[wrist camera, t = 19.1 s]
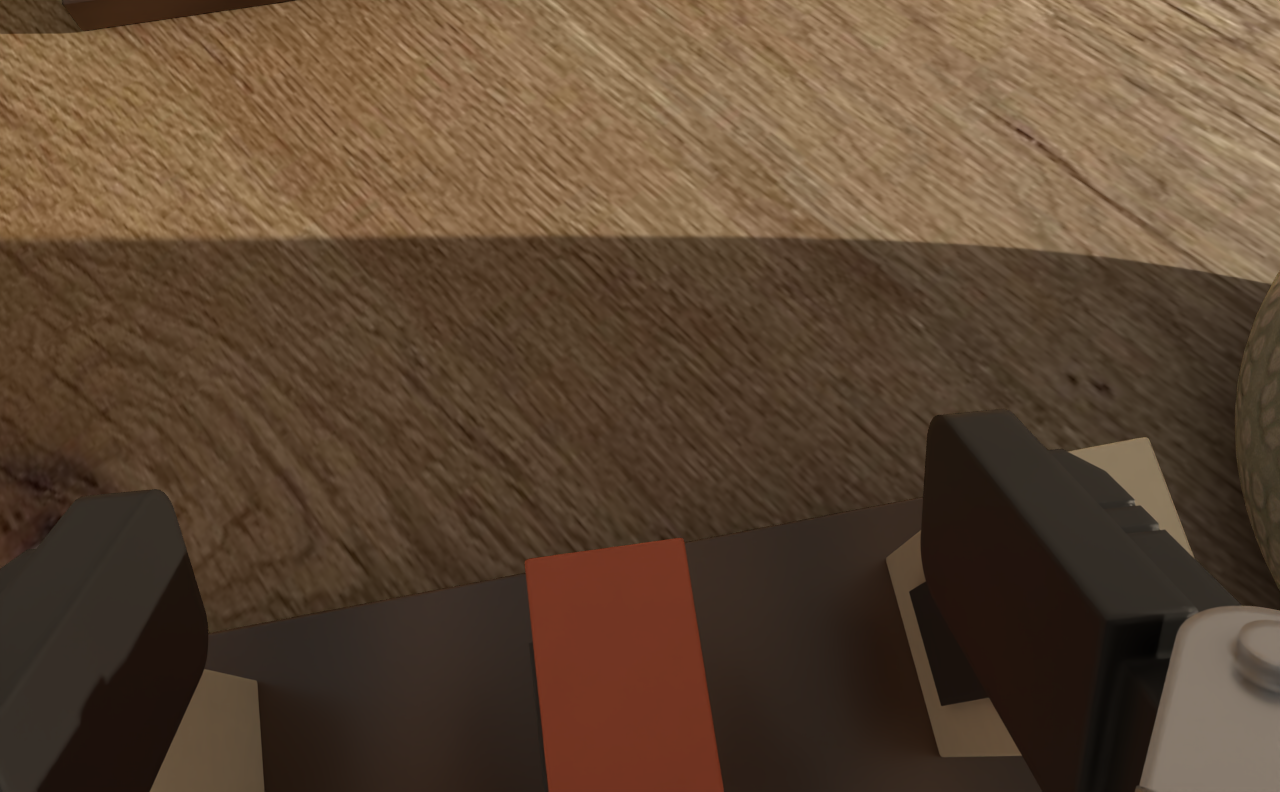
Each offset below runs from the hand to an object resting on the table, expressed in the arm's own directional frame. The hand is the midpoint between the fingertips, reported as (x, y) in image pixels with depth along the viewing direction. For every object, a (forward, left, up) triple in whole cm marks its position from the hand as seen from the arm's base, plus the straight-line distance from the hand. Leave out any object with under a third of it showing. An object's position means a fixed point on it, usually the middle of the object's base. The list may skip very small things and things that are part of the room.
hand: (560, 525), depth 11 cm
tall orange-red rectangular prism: (+1, -1, -13) cm, 13 cm away
